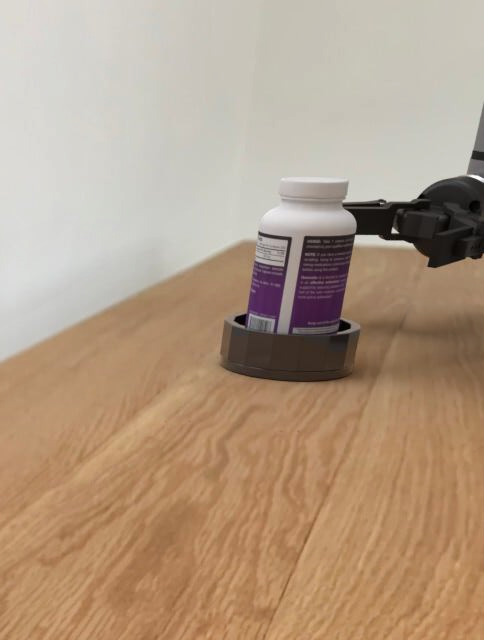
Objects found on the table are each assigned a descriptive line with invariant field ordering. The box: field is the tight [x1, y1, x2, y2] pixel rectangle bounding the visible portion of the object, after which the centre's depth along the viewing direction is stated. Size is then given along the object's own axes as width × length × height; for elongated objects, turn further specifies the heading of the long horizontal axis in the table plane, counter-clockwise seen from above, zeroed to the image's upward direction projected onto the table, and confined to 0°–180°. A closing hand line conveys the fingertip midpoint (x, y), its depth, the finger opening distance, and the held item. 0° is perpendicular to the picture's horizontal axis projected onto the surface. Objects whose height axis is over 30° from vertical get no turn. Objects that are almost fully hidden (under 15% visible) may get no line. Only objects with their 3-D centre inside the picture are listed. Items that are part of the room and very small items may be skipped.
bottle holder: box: [219, 311, 361, 382], centre depth 100 cm, size 12×12×4 cm
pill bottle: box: [245, 176, 357, 334], centre depth 97 cm, size 8×8×14 cm
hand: (362, 240), depth 101 cm, fingers open, 13 cm apart
